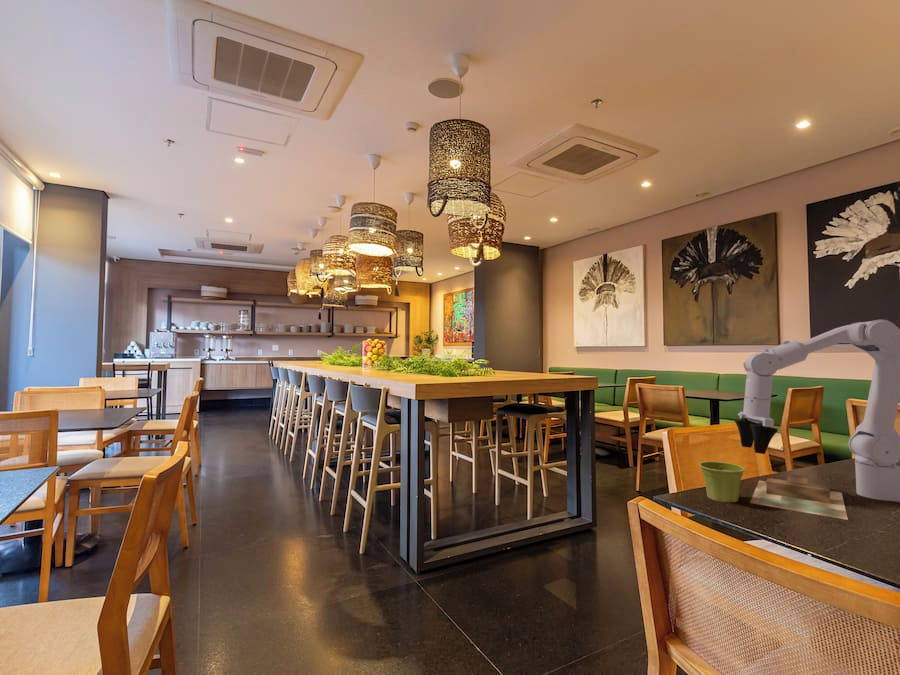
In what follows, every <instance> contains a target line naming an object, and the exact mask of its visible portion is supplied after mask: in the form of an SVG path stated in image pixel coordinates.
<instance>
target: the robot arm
mask: <svg viewBox="0 0 900 675" xmlns="http://www.w3.org/2000/svg"><path fill="white" fill-rule="evenodd" d="M839 344H851V345H852V346H854V347H856V348H858V349H860V350H862V351H864V352H866V354H868V355H869V357H871V358H872V359H873V360H875V362H874V368H873V372H872V379H871V382H870V387H869V392H868V397H867V402H866V406H865V412H864V417H863V421H862V422H861V423H860V424H858V425H857V426H856V427H855V432H854V433H853V435H852V436H851V437H850V438H849V439H848V448H849V451H850V452H851V453H852V454H854V465H855V466H854V467H855V484H856V485H855V487H856V488H855V490H856V491H855V492H856V494H857V495H858V496H861V497H865V498H867V499H873V500H879V501H887V502H888V501H890V502H896V503H897V502H898V503H900V465H897V464H898V463H899V462H900V434H899V432H898V431H897V430H896V427H895V423H896V417H897V413H898V408H899V404H900V328H899V327H898V326H897V325H896V324H895V323H893V322H892V321H889V320H887V319H875V320H870V321H858V322H853V323H851V324H847V325H843V326H839V327H835V328H833V329H831V330H828V331H826V332H823V333H820V334H819V335H815V336H814V337H811V338H809V339H807V340H804V341H802V342H801V341H800V342H799V341H796V340H790V341H789V340H783V341H781V342H780V344H779V345H777V346H774V347H771V348H769V349H768V348H764V349H762V351H761V353H752V354H750V355H748V356H747V358H746V359H745V361H744V362H743V369H744V370H745V372H746V377H745V378H746V379H745V387H744V388H745V390H744V398H743V410H742V411H739V412H738V413H737V416H739V419H734V422H735V426H736V427H737V429H738V432H739V437H740V443H741V447H742V448H743V447H744V448H752V447H753V450H754V453H755V454H762V455H766V452H767V450H768V447H769V445H770V443H771V440H772V439H773V438H774V436H775V435H776V434H777V432H778V430H779V429H778V428H776V427H774V424H775V420H774V419H772V418H771V417H770V415H771V413H770V412H771V402H772V401H771V399H772V390H773V378H774V377H773V376H774V374H775V373H777V371H780V370H782V369H786V368H787V367H790V366H793V365H795V364H799V363H802V362H803V361H806V359H807V357H808V355H809V354H812V353H814V352H817V351H820V350H824V349H826V348H829V347H832V346H835V345H839Z"/></svg>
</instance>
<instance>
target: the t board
mask: <svg viewBox="0 0 900 675" xmlns="http://www.w3.org/2000/svg"><path fill="white" fill-rule="evenodd" d="M766 481H767V480H766ZM766 481H764V480H758V483H757V484H756V487H755V489H754V492H753V494H752V497H751V498H750V502H749V504H754V505H760V506H766V507H771V508H778V509H783V510H788V511H795V512H798V513H799V512H800V513H806V514H812V515H818V516H824V517H827V518H833V519H841V520H846V521H848V520H849V519H848V514H847V509H846V506H845V501H844V497H843V493H842V491H841V492H840V491H834V490H830V504H829V503H823V502H817V501H810V500H804V499H798V498H791V497H785V496H779V495H773V494H767V489H766Z"/></svg>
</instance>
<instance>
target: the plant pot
mask: <svg viewBox="0 0 900 675" xmlns="http://www.w3.org/2000/svg"><path fill="white" fill-rule="evenodd" d="M698 466H699V467H700V469H701V472H702V474H703V477H704V479H703V480H704V484H705V490H706V497H707V498H708V499H711V500H713V501H717V502H721V503H722V502H723V503H737V502H738V501H739V496H740V495H739V494H740V487H741V482H742V481H741V479H742V477H743V475H744V474H743V473H744V472H745V471H746V469H745V467H743V466H741V465H738V464H734V463H731V462H723V461H702V462H699V465H698Z"/></svg>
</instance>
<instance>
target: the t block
mask: <svg viewBox="0 0 900 675" xmlns="http://www.w3.org/2000/svg"><path fill="white" fill-rule="evenodd" d="M766 489H767V494H773V495H779V496H785V497H791V498H798V499H804V500H810V501H817V502H823V503H829V504H830V491H831V490H830V486H827V485H819V484H813V483H812V484H811V483H809V480H808V476H806V475H805V476H804V475H798V474H790V473H789V474H788V475H787V478H786V480H784V479H777V478H772V477H767V478H766Z"/></svg>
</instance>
